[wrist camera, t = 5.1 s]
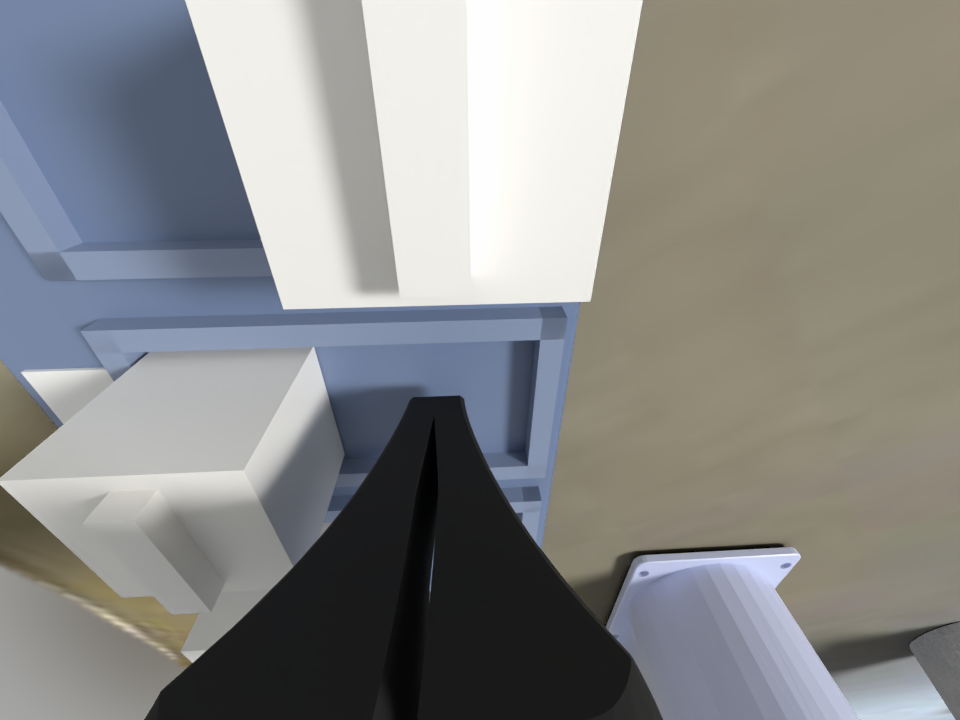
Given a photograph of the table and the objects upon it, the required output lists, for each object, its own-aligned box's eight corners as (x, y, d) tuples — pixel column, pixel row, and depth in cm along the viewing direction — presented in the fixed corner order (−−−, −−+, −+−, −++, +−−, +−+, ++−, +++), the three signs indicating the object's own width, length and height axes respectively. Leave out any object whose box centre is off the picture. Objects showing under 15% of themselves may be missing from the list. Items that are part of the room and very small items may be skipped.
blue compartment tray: (532, 556, 18) (538, 592, 17) (212, 574, 17) (193, 613, 16) (629, -146, 6) (676, -210, 5) (-347, -172, 6) (-593, -254, 4)
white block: (344, 453, 12) (295, 616, 8) (213, 459, 12) (101, 627, 8) (313, 345, 10) (226, 500, 6) (151, 350, 10) (-43, 513, 6)
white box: (537, 221, 8) (604, 323, 5) (351, 224, 8) (264, 332, 4) (557, -36, 6) (719, -242, 2) (303, -39, 6) (48, -265, 2)
